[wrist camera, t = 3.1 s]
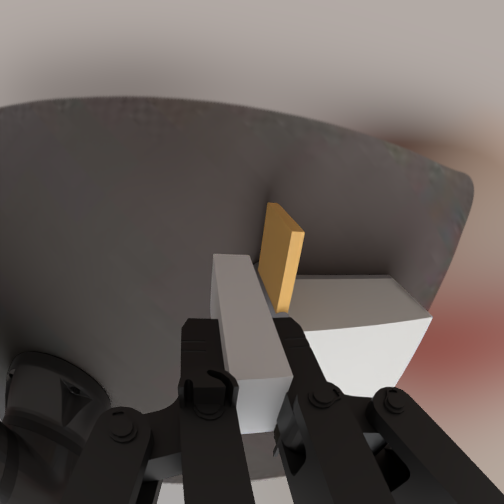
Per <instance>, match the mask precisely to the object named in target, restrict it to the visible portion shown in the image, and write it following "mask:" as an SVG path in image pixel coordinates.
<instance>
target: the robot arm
mask: <svg viewBox="0 0 504 504" xmlns="http://www.w3.org/2000/svg"><path fill="white" fill-rule="evenodd" d="M210 313H211V319H195V318H188V319H187V321H186V322H185V324H184V325H183V327H182V333H181V378H180V381H179V384H178V395H179V396H178V398H177V400H176V401H175V402H174V403H173V404H172V405H170V406H169V407H167V408H165V409H162V410H160V411H156V412H151V413H147V414H142V413H141V412H139V411H137V410H135V409H133V408H129V407H115V408H111V404H110V400H109V398H108V396H107V394H106V393H105V391H104V390H103V389H102V388H101V386H100V385H99V384H98V383H97V382H96V381H94V380H93V379H92V378H91V377H90V376H89V375H87V374H86V373H84V372H83V371H82V370H80V369H78V368H77V367H75V366H73V365H72V364H70V363H68V362H66V361H64V360H61V359H59V358H57V357H54V356H51V355H48V354H44V353H38V352H25V353H21V354H19V355H17V356H16V357H15V358H14V360H13V362H12V364H11V366H10V368H9V370H8V373H7V379H6V394H5V415H4V418H3V420H2V422H1V421H0V504H157V500H158V496H159V492H160V489H161V485H162V481H163V479H166V478H169V477H173V476H177V475H181V474H182V475H183V489H184V501H185V504H255V500H254V496H253V491H252V486H251V482H250V477H249V472H248V467H247V462H246V457H245V452H244V447H243V442H242V437H241V434H248V433H260V432H270V431H274V429H275V426H276V424H278V428H279V431H280V437H279V439H278V442H277V444H276V446H275V448H274V451H273V457H277V455H278V453H279V452H280V456H281V459H282V463H283V467H284V470H285V474H286V477H287V481H288V485H289V488H290V492H291V495H292V499H293V502H294V504H504V495H503V493H502V492H501V491H500V490H499V489H498V488H497V487H496V486H495V485H494V484H493V483H492V482H491V481H490V480H489V478H488V477H487V476H486V475H485V474H484V473H483V472H482V471H481V470H480V469H479V468H478V467H477V466H476V465H475V463H474V462H473V461H471V459H470V458H469V457H468V456H467V455H466V454H465V453H464V452H463V451H462V450H461V449H460V448H459V447H458V446H457V445H456V443H454V441H453V440H452V439H451V438H450V437H449V436H448V435H447V434H446V433H445V432H444V431H443V430H442V429H441V428H440V427H439V426H438V425H437V424H436V423H435V422H434V420H432V418H431V417H430V416H429V415H428V414H427V413H426V412H425V411H424V410H423V409H422V408H421V407H420V406H419V405H418V404H417V403H416V402H415V401H414V400H413V399H412V398H411V397H410V396H409V395H408V394H407V393H406V392H404V391H403V390H401V389H398V388H396V387H384V388H381V389H379V390H378V391H377V392H376V393H375V394H374V396H373V397H360V396H351V395H346V394H344V393H343V392H342V391H341V389H340V388H339V387H337V386H336V385H334V384H333V383H331V382H327V380H326V379H325V376H324V374H323V372H322V370H321V368H320V366H319V364H318V361H317V359H316V357H315V355H314V353H313V351H312V349H311V348H310V344H309V342H308V340H307V339H306V336H305V334H304V332H303V329H302V327H301V326H300V325H299V324H298V323H297V322H296V321H295V320H294V319H293V318H291V317H280V318H272V316H271V314H270V311H269V308H268V305H267V303H266V300H265V297H264V294H263V292H262V289H261V286H260V283H259V281H258V278H257V275H256V272H255V270H254V267H253V264H252V261H251V259H250V256H249V255H230V254H213V268H212V283H211V300H210Z"/></svg>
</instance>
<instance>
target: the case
mask: <svg viewBox="0 0 504 504" xmlns="http://www.w3.org/2000/svg"><path fill="white" fill-rule="evenodd" d="M288 314H289V317H291V318H293V319H294V320H295V321H296V322H297V323H298V324H299V325H300V326H301V327H302V329H303V332H304V334H305V336H306V339H307V340H308V342H309V344H310V348H311V349H312V351H313V353H314V355H315V357H316V359H317V361H318V364H319V366H320V368H321V370H322V372H323V374H324V376H325V379H326V380H327V382H331V383H333V384H334V385H336V386H337V387H339V388H340V389H341V391H342V392H343V393H344V394H346V395H351V396H360V397H373V396H374V394H375V393H376V392H377V391H378V390H379V389H381V388H384V387H395V385H396V383H397V382H398V380H399V379H400V377H401V375H402V374H403V372H404V370H405V369H406V367H407V365H408V363H409V362H410V360H411V358H412V356H413V355H414V353H415V351H416V349H417V347H418V345H419V343H420V342H421V340H422V338H423V336H424V334H425V332H426V330H427V328H428V326H429V324H430V322H431V320H432V318H433V316H432V315H430V314H429V312H428V311H427V310H426V309H425V308H424V307H423V306H422V305H421V304H419V303H418V302H417V301H416V300H415V299H414V298H413V297H412V296H411V295H410V294H409V293H408V292H407V291H406V290H405V289H404V288H403V287H402V286H401V285H400V284H399V283H398V282H397V281H395V280H394V279H393V278H392V277H391V276H390V275H296V278H295V283H294V287H293V292H292V296H291V301H290V305H289V310H288Z"/></svg>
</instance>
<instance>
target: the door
mask: <svg viewBox="0 0 504 504" xmlns="http://www.w3.org/2000/svg"><path fill="white" fill-rule="evenodd" d="M304 234H305V232H304V231H303V230H302V228H301V227H300V226H299V225H298V224H297V223H296V222H295V221H294V220H293V219H292V218H291V217H290V216H289V215H288V213H287V212H286V211H285V210H284V209H283V208H282V207H281V206H280V205H279V204H278V203H268V204H267V211H266V218H265V225H264V232H263V239H262V245H261V252H260V259H259V262H257V263H255V264H254V265H253V267H254V270H255V272H256V275H257V278H258V281H259V283H260V286H261V289H262V292H263V294H264V297H265V300H266V303H267V305H268V308H269V311H270V314H271V316H272V318H280V317H289V314H288V310H289V305H290V301H291V296H292V292H293V287H294V283H295V278H296V273H297V269H298V264H299V259H300V254H301V249H302V244H303V239H304Z"/></svg>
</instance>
